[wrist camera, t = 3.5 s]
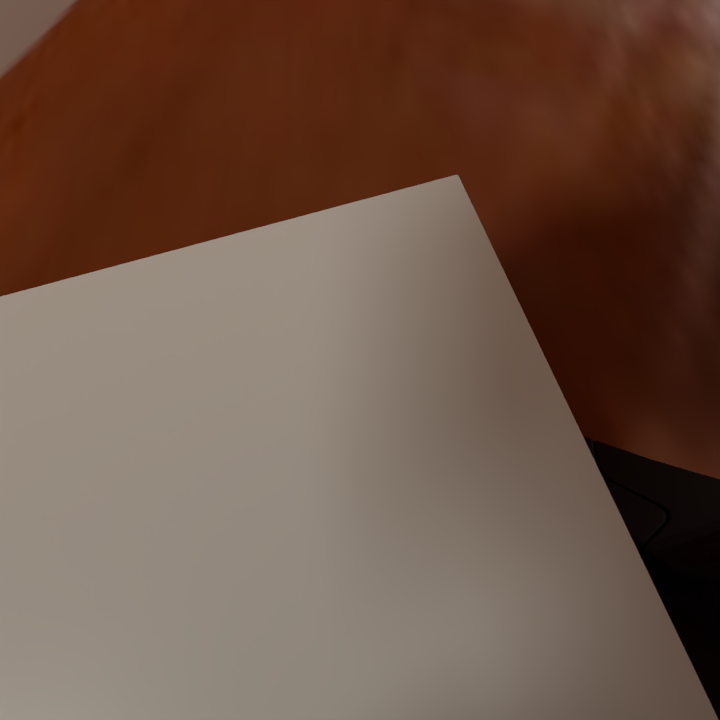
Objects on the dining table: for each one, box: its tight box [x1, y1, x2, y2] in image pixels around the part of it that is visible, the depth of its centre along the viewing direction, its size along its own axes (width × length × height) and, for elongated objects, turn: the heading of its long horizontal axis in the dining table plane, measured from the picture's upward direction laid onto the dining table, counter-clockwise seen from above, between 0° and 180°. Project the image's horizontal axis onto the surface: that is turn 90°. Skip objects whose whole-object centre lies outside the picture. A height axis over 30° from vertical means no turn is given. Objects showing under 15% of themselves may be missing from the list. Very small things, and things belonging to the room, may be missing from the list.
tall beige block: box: [0, 175, 718, 720], centre depth 9 cm, size 6×5×12 cm
